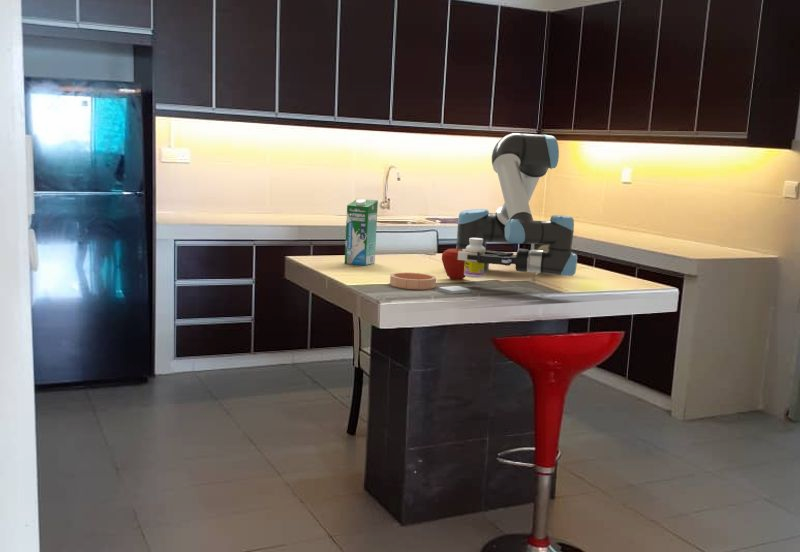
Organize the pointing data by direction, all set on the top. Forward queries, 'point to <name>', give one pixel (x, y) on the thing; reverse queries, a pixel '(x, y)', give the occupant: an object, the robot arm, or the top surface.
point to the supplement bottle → (474, 267)
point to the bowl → (413, 280)
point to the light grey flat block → (454, 289)
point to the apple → (453, 264)
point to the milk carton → (361, 232)
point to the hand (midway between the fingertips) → (460, 254)
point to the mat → (451, 294)
